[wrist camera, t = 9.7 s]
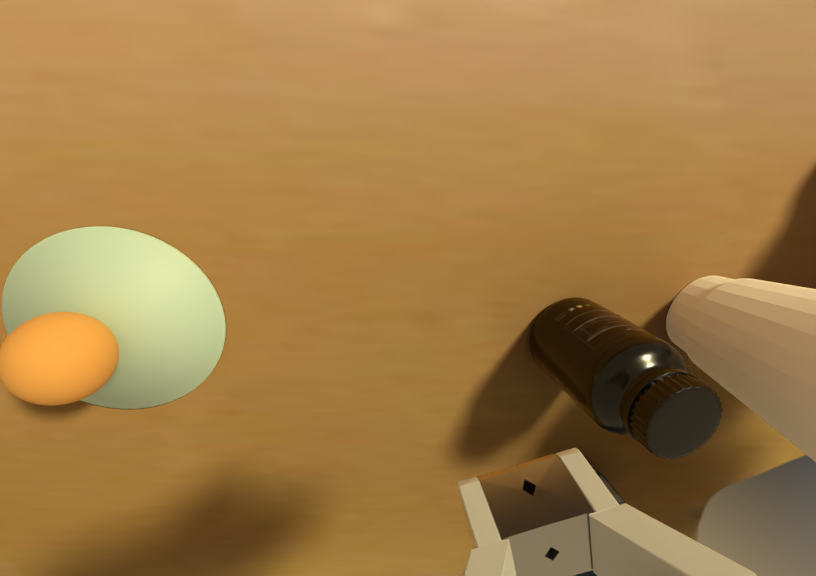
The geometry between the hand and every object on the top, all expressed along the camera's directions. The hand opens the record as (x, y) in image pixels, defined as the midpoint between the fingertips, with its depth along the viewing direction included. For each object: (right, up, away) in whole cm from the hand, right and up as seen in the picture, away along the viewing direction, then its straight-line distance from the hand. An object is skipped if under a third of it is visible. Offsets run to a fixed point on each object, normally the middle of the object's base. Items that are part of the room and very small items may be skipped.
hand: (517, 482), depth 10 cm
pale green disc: (-22, +2, +17) cm, 28 cm away
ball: (-23, +1, +14) cm, 27 cm away
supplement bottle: (+10, +1, +24) cm, 26 cm away
